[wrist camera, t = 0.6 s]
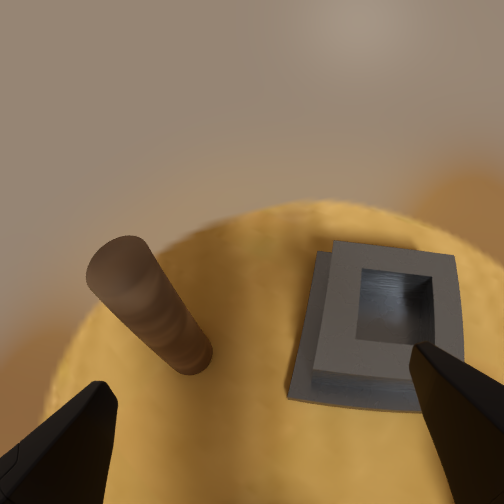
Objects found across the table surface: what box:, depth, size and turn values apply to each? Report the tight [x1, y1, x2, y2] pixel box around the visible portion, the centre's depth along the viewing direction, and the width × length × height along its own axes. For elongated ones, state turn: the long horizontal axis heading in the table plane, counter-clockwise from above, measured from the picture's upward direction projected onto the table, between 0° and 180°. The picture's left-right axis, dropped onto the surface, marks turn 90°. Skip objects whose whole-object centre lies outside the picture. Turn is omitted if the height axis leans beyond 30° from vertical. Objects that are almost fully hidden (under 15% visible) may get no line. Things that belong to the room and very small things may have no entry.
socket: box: [287, 240, 464, 413], centre depth 22 cm, size 14×14×4 cm
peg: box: [86, 236, 213, 375], centre depth 20 cm, size 4×4×13 cm
